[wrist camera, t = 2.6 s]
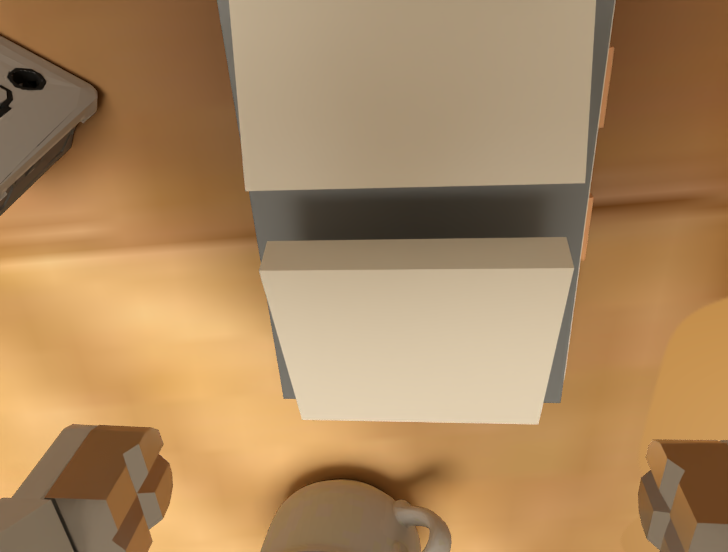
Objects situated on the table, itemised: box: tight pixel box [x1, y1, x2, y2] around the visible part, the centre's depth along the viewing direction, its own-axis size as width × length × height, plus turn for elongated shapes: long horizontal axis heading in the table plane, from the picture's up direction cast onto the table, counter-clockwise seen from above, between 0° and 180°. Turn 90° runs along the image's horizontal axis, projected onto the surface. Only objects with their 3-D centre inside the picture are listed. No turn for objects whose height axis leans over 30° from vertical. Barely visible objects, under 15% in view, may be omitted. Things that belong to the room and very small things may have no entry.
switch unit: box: [217, 0, 616, 403], centre depth 26 cm, size 24×14×7 cm, turn 4°
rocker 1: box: [229, 0, 596, 191], centre depth 19 cm, size 10×11×2 cm
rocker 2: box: [259, 237, 574, 424], centre depth 25 cm, size 10×11×2 cm
